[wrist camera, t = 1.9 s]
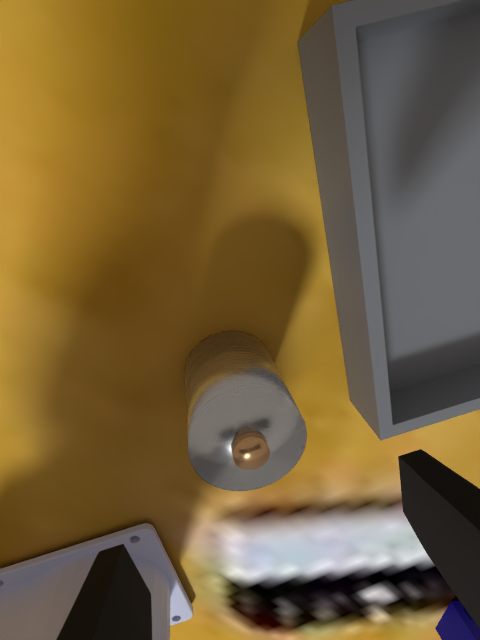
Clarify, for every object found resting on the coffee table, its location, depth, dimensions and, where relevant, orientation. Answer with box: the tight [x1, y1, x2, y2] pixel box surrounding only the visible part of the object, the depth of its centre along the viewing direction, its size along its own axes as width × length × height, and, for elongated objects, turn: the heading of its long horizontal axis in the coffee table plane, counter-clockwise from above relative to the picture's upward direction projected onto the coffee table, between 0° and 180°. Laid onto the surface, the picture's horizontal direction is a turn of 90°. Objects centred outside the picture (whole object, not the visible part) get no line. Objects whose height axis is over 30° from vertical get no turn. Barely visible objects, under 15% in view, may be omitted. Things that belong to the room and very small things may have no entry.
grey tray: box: [298, 0, 480, 440], centre depth 15 cm, size 11×15×3 cm
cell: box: [185, 331, 307, 491], centre depth 14 cm, size 4×4×6 cm
